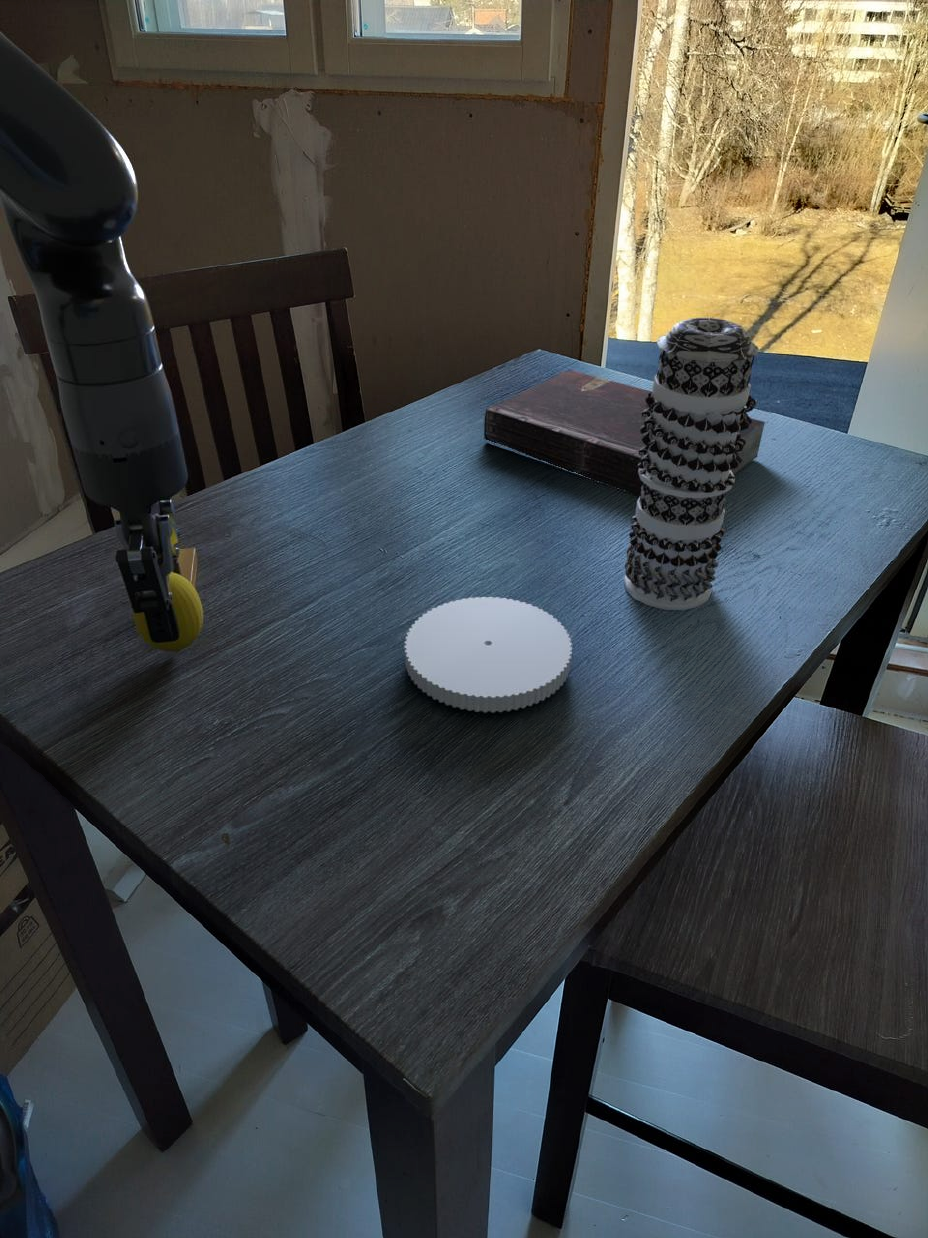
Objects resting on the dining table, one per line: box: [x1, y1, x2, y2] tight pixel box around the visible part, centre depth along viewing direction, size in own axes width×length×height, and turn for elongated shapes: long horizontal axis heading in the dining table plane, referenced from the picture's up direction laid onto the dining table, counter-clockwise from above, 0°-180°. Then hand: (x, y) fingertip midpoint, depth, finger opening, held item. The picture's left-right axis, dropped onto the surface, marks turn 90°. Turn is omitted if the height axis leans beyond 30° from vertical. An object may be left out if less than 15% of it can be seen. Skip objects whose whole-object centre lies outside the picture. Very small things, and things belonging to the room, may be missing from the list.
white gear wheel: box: [403, 596, 573, 713], centre depth 72 cm, size 14×14×2 cm
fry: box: [177, 547, 199, 589], centre depth 82 cm, size 2×9×2 cm, turn 11°
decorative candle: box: [623, 317, 760, 611], centre depth 76 cm, size 9×9×25 cm
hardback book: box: [483, 369, 766, 497], centre depth 107 cm, size 29×19×5 cm, turn 50°
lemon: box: [132, 572, 204, 653], centre depth 71 cm, size 6×6×8 cm
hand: (169, 617), depth 72 cm, fingers closed on lemon, 5 cm apart
